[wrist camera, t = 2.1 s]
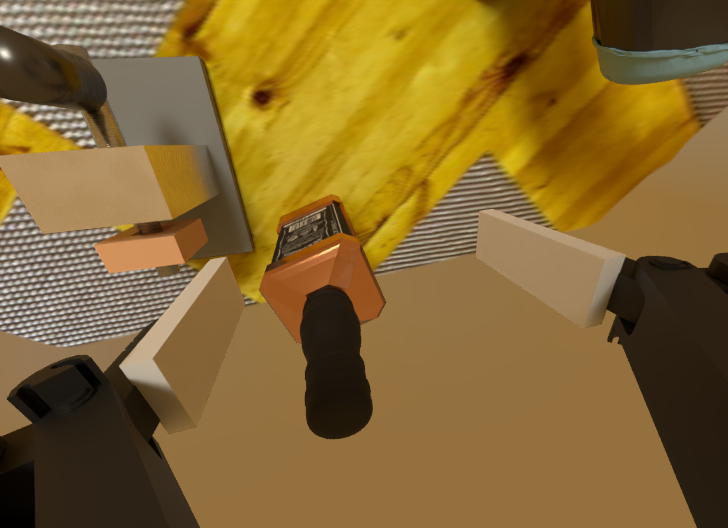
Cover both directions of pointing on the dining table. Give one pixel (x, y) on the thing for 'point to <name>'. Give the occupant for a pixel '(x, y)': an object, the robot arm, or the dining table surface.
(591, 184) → the dining table surface
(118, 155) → the block
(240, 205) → the base board
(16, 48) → the crank handle
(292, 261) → the whiskey bottle
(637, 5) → the robot arm
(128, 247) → the spacer
